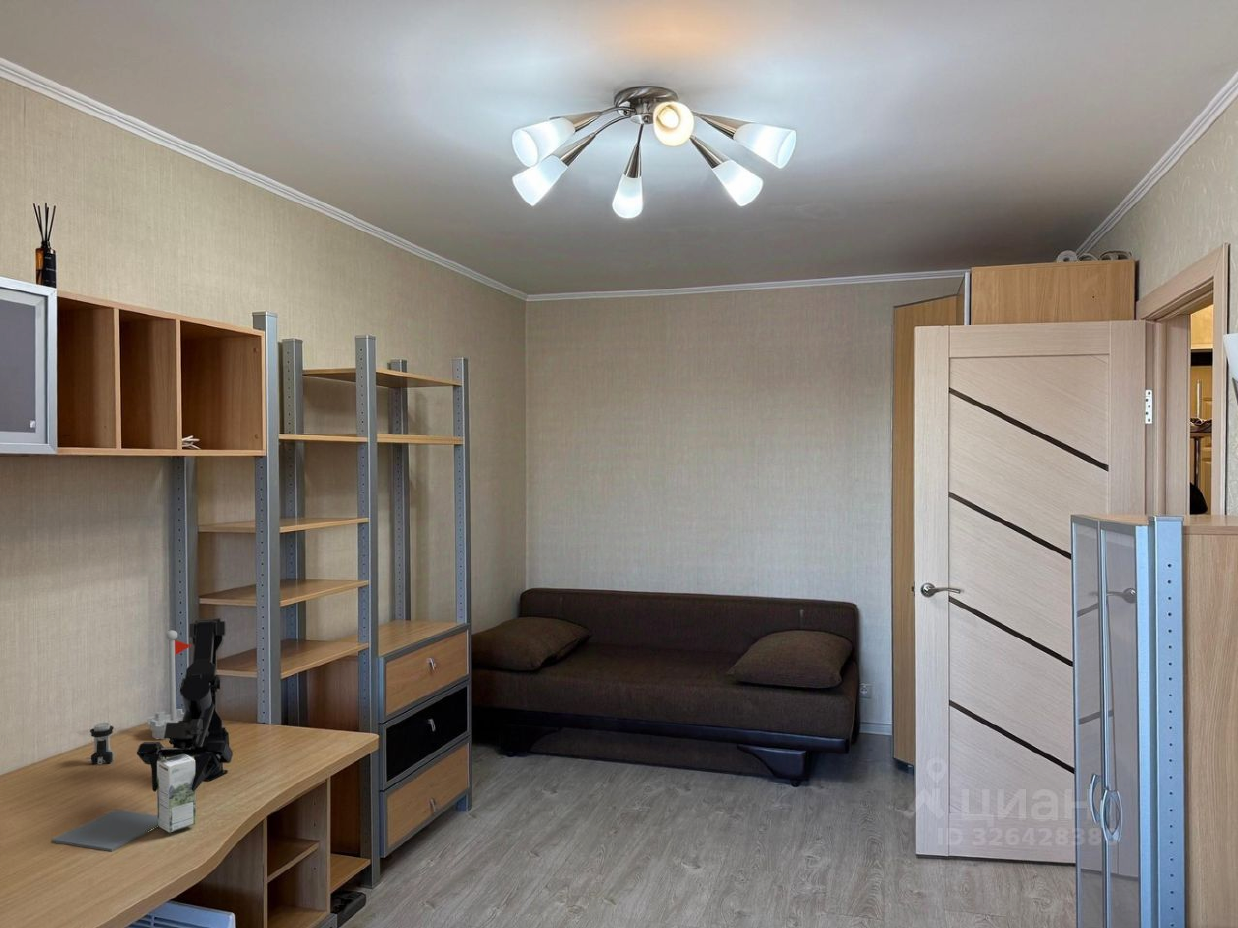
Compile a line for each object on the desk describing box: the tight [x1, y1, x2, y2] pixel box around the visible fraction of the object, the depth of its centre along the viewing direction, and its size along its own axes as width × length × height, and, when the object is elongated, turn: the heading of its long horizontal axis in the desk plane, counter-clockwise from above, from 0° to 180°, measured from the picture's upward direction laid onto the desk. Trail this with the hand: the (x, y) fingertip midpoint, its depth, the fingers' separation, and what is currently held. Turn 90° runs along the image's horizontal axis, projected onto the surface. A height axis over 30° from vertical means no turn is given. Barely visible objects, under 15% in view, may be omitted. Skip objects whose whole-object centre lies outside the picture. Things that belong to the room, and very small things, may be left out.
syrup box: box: [156, 754, 197, 833], centre depth 190 cm, size 6×6×14 cm
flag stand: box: [147, 629, 192, 739], centre depth 256 cm, size 13×13×30 cm
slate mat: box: [51, 809, 158, 852], centre depth 190 cm, size 16×16×1 cm
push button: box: [84, 722, 114, 765], centre depth 232 cm, size 7×5×10 cm
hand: (173, 790), depth 189 cm, fingers closed on syrup box, 8 cm apart
